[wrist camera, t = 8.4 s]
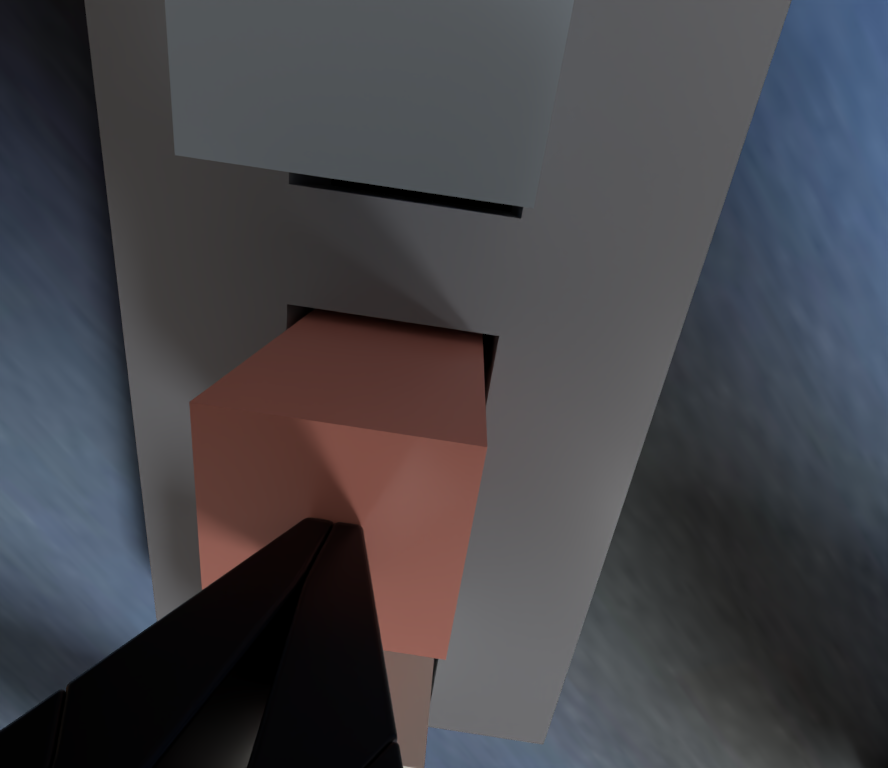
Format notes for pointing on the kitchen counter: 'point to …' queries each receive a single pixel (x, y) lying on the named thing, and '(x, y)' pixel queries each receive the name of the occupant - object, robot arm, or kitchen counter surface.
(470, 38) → the dusty blue key
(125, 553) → the kitchen counter surface
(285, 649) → the robot arm
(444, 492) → the brick key
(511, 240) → the grey slotted board
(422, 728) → the ivory key
